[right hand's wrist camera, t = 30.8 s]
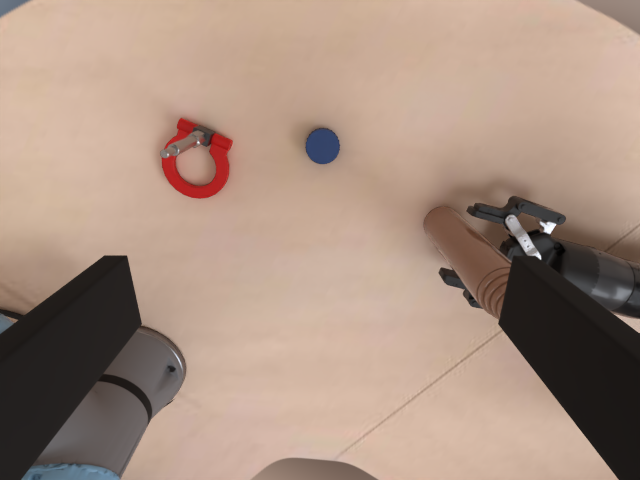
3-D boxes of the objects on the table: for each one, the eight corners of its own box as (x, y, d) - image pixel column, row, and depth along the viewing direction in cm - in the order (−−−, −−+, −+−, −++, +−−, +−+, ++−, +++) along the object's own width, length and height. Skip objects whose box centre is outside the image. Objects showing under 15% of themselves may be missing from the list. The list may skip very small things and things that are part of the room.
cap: (319, 120, 45) (319, 121, 44) (346, 142, 46) (347, 144, 44) (299, 147, 46) (298, 150, 45) (325, 168, 47) (325, 171, 46)
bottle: (466, 224, 50) (582, 330, 28) (437, 246, 52) (526, 364, 29) (445, 199, 49) (550, 289, 27) (416, 222, 50) (493, 327, 28)
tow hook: (219, 205, 50) (241, 142, 46) (184, 246, 38) (209, 165, 34) (158, 180, 48) (176, 113, 45) (102, 214, 37) (120, 126, 33)
